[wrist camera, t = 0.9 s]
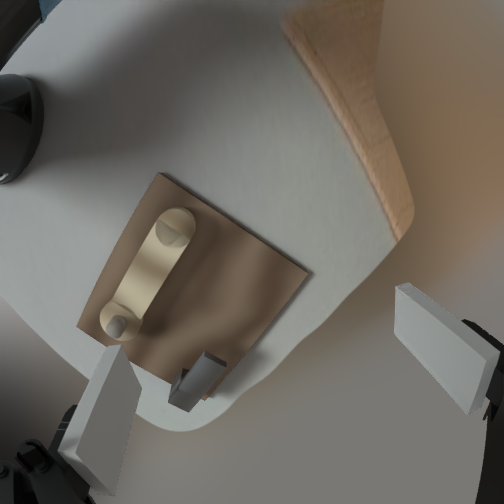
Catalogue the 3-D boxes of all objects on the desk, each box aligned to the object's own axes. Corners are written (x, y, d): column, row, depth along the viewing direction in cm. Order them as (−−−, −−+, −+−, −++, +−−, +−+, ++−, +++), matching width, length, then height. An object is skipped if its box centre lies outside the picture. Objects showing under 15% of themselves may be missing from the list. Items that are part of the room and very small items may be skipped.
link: (133, 337, 36) (124, 357, 32) (101, 316, 35) (88, 333, 31) (207, 222, 33) (204, 230, 29) (168, 196, 32) (160, 201, 28)
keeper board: (79, 323, 36) (63, 342, 31) (160, 172, 33) (148, 173, 27) (205, 396, 41) (203, 422, 36) (306, 271, 37) (318, 287, 32)
